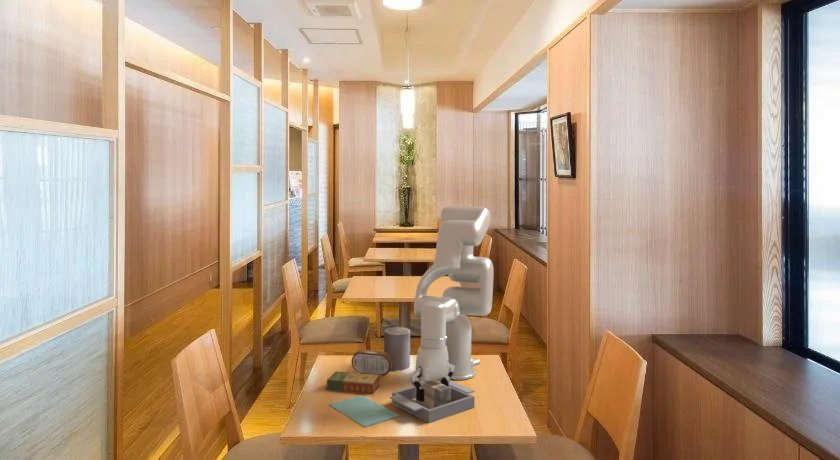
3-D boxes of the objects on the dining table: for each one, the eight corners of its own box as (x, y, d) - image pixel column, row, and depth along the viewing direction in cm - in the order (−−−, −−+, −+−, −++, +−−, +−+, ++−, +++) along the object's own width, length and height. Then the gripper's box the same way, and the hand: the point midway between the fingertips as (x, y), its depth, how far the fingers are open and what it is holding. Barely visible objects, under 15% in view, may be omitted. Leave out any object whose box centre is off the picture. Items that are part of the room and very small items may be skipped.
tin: (393, 374, 204) (393, 351, 203) (390, 377, 201) (390, 354, 200) (353, 370, 207) (353, 348, 206) (350, 373, 204) (350, 350, 203)
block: (425, 398, 182) (425, 376, 181) (450, 410, 173) (450, 387, 172) (415, 401, 180) (415, 379, 179) (440, 413, 170) (440, 390, 170)
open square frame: (442, 388, 191) (443, 377, 190) (481, 405, 177) (481, 393, 176) (384, 405, 176) (384, 394, 175) (420, 425, 162) (420, 413, 161)
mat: (361, 395, 184) (361, 394, 183) (399, 416, 168) (399, 415, 168) (329, 405, 176) (329, 404, 176) (364, 427, 160) (364, 426, 160)
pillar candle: (382, 363, 216) (381, 324, 214) (407, 361, 218) (407, 322, 216) (386, 371, 206) (386, 331, 205) (412, 369, 209) (412, 329, 207)
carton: (373, 395, 185) (372, 382, 184) (326, 391, 188) (326, 378, 188) (380, 386, 193) (380, 373, 193) (335, 382, 196) (335, 370, 196)
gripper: (446, 335, 182) (445, 387, 184) (403, 344, 172) (402, 399, 173) (462, 340, 177) (461, 394, 178) (418, 350, 166) (418, 407, 167)
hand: (432, 396), depth 176 cm, fingers open, 9 cm apart
